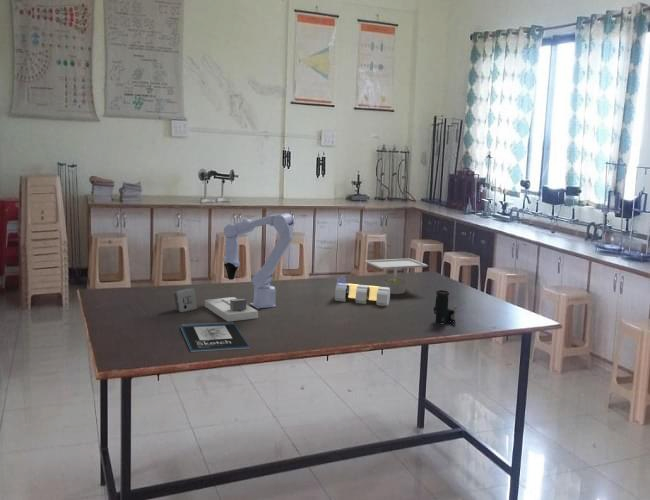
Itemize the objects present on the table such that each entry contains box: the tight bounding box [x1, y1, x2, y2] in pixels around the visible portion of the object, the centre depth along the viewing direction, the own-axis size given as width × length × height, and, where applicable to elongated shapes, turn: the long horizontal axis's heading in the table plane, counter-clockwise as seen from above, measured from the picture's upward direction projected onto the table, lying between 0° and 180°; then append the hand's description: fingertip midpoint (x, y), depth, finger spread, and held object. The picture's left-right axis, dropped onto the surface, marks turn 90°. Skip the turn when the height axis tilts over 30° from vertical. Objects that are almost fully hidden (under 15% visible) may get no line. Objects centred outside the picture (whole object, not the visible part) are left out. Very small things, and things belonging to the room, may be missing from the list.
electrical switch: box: [173, 287, 198, 313], centre depth 293 cm, size 9×5×9 cm, turn 141°
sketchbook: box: [180, 321, 251, 353], centre depth 259 cm, size 22×30×2 cm
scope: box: [433, 289, 458, 324], centre depth 294 cm, size 8×14×10 cm
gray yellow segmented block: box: [334, 274, 391, 307], centre depth 323 cm, size 25×10×13 cm, turn 77°
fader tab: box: [230, 298, 247, 311], centre depth 287 cm, size 6×3×4 cm, turn 122°
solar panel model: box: [363, 257, 429, 295], centre depth 346 cm, size 28×17×15 cm, turn 115°
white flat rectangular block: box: [204, 296, 259, 323], centre depth 294 cm, size 14×25×3 cm, turn 32°
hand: (230, 279), depth 309 cm, fingers closed
